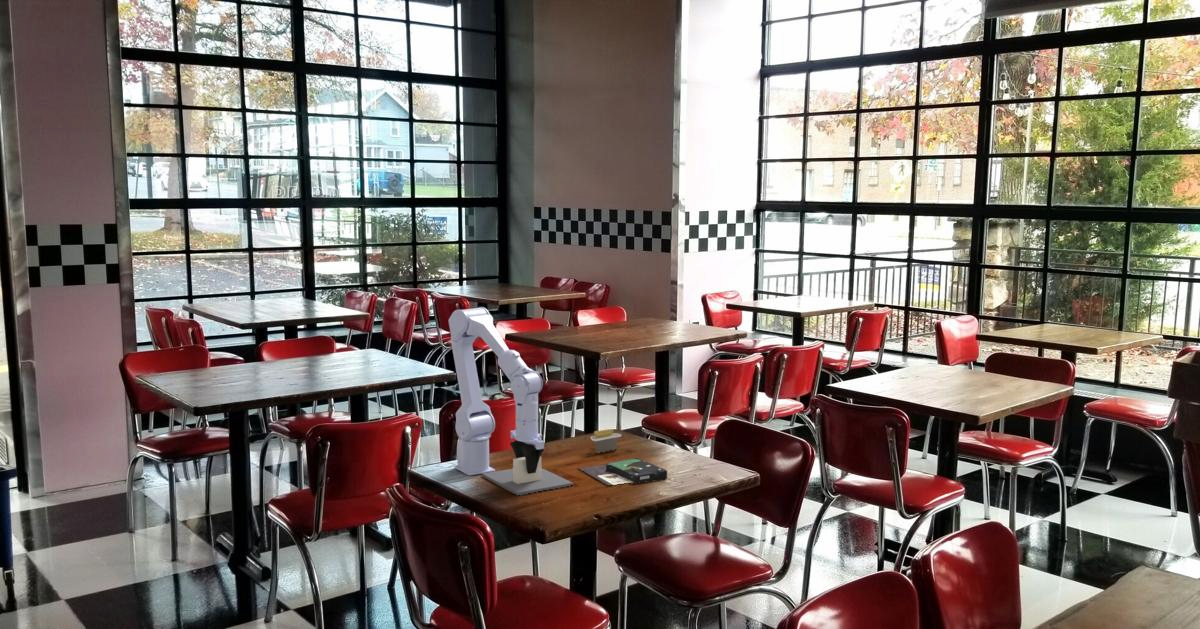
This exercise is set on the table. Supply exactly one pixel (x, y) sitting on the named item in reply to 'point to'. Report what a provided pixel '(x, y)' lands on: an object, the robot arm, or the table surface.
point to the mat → (506, 482)
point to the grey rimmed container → (605, 440)
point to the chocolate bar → (604, 475)
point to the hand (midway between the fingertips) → (527, 470)
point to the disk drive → (637, 470)
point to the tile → (525, 471)
